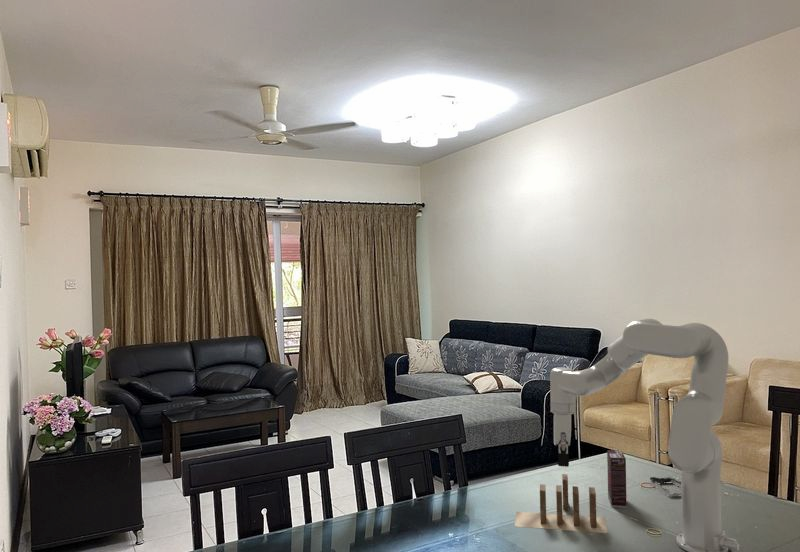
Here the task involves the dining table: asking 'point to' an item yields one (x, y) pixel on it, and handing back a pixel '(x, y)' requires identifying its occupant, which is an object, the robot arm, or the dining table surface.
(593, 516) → the domino
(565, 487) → the domino
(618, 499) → the supplement box
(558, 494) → the domino
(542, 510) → the domino
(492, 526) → the dining table surface
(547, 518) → the light wooden board
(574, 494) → the domino
